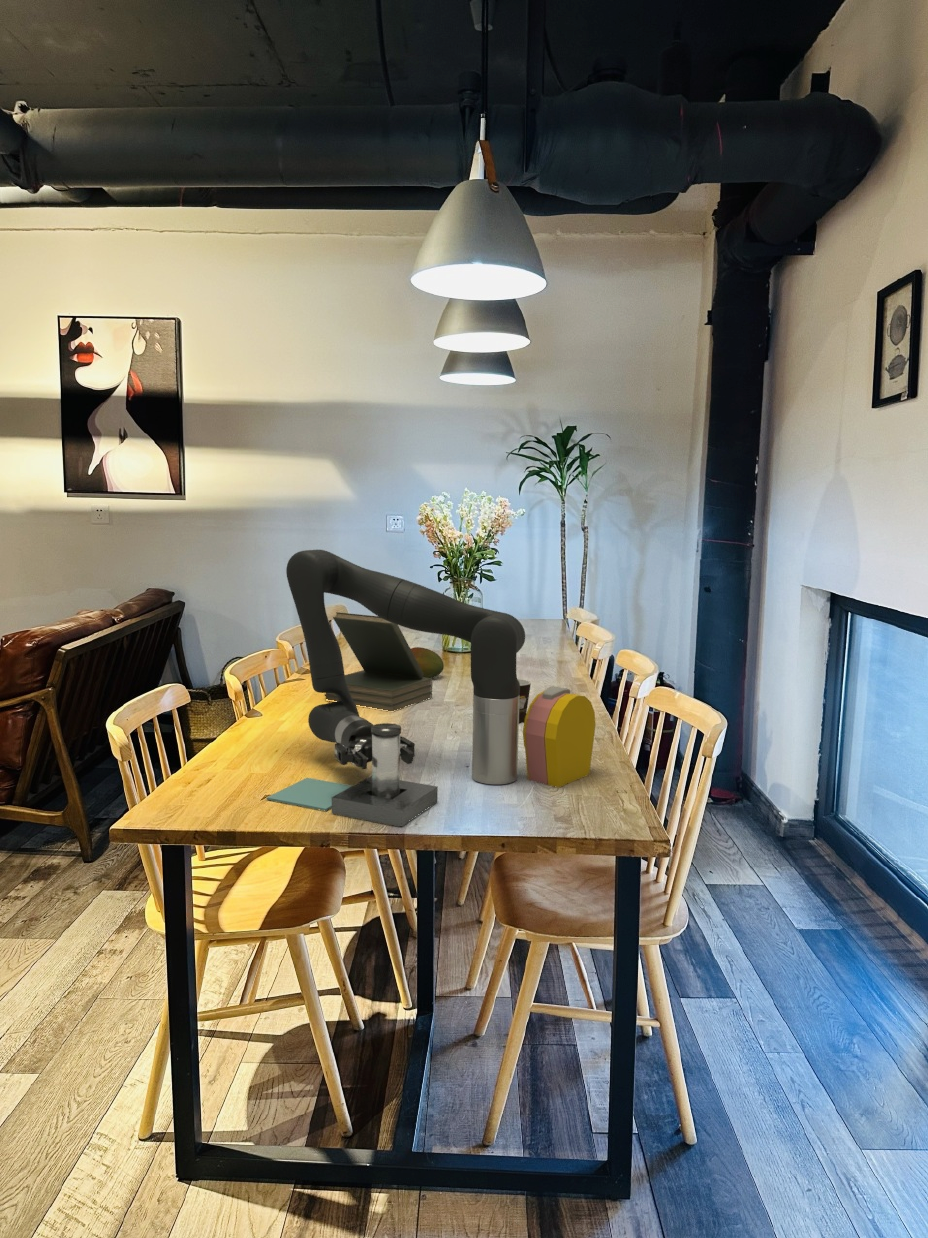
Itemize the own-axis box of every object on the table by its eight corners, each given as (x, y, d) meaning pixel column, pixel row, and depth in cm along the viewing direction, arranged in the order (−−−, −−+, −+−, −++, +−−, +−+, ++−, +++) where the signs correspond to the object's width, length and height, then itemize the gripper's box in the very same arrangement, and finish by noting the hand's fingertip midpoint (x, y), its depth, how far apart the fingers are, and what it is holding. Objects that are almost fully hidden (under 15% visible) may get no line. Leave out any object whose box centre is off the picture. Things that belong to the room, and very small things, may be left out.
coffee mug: (527, 716, 225) (528, 678, 224) (531, 724, 217) (532, 685, 215) (483, 716, 225) (484, 678, 223) (485, 724, 216) (486, 685, 215)
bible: (432, 699, 243) (433, 612, 240) (392, 713, 227) (392, 619, 223) (366, 689, 255) (367, 606, 252) (324, 702, 238) (323, 612, 235)
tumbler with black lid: (380, 801, 159) (380, 722, 157) (405, 805, 157) (406, 725, 155) (365, 810, 154) (365, 728, 152) (391, 815, 152) (392, 732, 150)
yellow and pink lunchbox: (560, 764, 184) (563, 680, 182) (593, 772, 179) (597, 685, 176) (519, 780, 173) (522, 691, 170) (553, 789, 167) (556, 697, 165)
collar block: (371, 790, 165) (371, 775, 165) (437, 802, 159) (437, 786, 159) (331, 813, 152) (331, 797, 152) (401, 827, 147) (401, 810, 146)
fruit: (398, 676, 274) (398, 645, 273) (434, 673, 279) (434, 643, 278) (411, 683, 264) (411, 651, 262) (448, 680, 269) (449, 649, 268)
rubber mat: (307, 780, 170) (307, 777, 170) (363, 790, 165) (363, 787, 165) (266, 800, 159) (266, 797, 159) (325, 811, 153) (325, 808, 153)
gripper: (323, 722, 165) (349, 744, 150) (393, 716, 171) (425, 736, 156) (323, 760, 166) (349, 786, 151) (392, 753, 172) (424, 776, 157)
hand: (388, 761), depth 154 cm, fingers open, 8 cm apart
